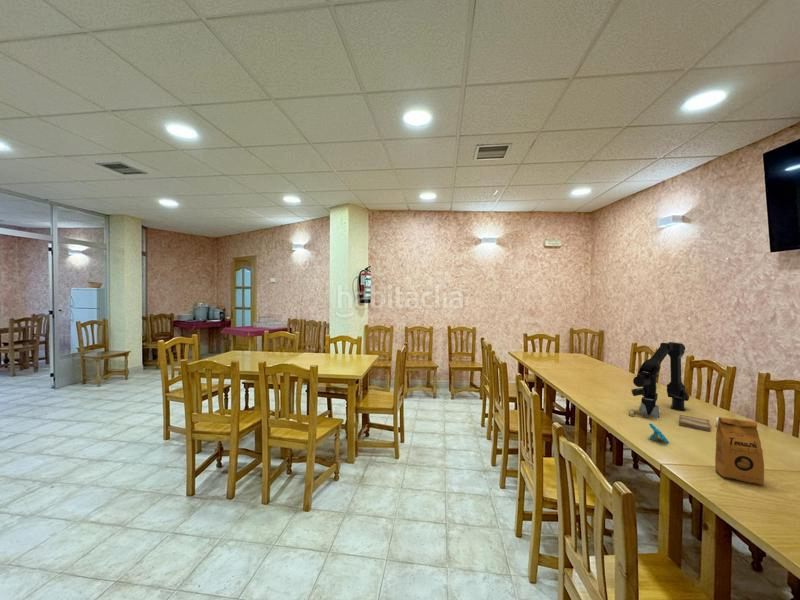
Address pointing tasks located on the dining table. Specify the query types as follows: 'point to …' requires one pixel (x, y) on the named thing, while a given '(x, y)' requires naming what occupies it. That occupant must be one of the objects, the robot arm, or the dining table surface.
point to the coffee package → (739, 451)
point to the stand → (694, 423)
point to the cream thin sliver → (717, 421)
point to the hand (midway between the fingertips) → (649, 412)
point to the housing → (654, 412)
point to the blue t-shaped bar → (657, 433)
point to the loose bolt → (631, 413)
